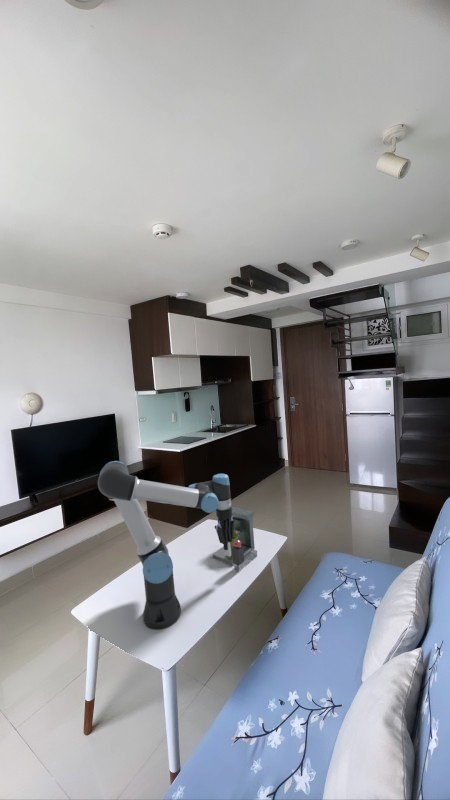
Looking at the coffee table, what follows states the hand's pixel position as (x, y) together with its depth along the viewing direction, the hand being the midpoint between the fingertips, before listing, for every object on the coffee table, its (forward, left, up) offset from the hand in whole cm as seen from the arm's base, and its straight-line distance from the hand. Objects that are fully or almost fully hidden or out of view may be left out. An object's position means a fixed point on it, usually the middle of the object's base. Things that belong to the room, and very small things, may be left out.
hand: (228, 555), depth 153 cm
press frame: (+17, +8, -11) cm, 22 cm away
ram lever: (+8, 0, -7) cm, 11 cm away
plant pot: (+15, +11, -9) cm, 21 cm away
